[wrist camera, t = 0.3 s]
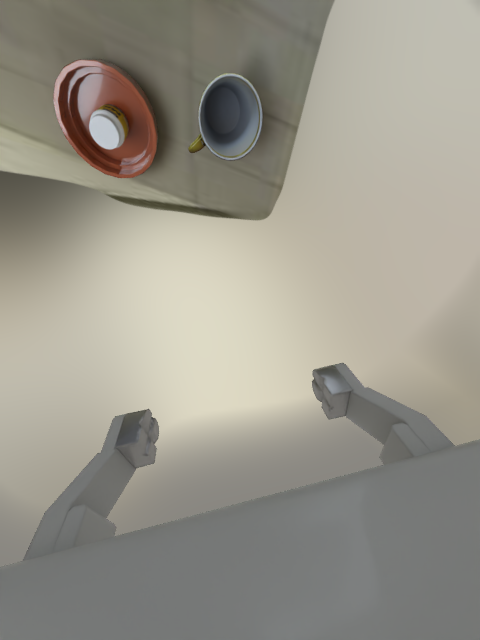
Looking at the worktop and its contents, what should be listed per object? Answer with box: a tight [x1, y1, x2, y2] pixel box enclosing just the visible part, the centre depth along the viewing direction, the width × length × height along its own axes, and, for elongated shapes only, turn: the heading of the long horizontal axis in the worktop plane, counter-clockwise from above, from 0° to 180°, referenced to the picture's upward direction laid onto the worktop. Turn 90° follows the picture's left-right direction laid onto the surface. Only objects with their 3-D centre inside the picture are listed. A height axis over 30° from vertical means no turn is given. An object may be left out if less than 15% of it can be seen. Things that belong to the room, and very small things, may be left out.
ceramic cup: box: [189, 73, 263, 161], centre depth 37 cm, size 13×10×10 cm
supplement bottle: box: [89, 104, 129, 149], centre depth 36 cm, size 5×5×8 cm
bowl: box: [53, 59, 158, 178], centre depth 37 cm, size 14×14×5 cm
